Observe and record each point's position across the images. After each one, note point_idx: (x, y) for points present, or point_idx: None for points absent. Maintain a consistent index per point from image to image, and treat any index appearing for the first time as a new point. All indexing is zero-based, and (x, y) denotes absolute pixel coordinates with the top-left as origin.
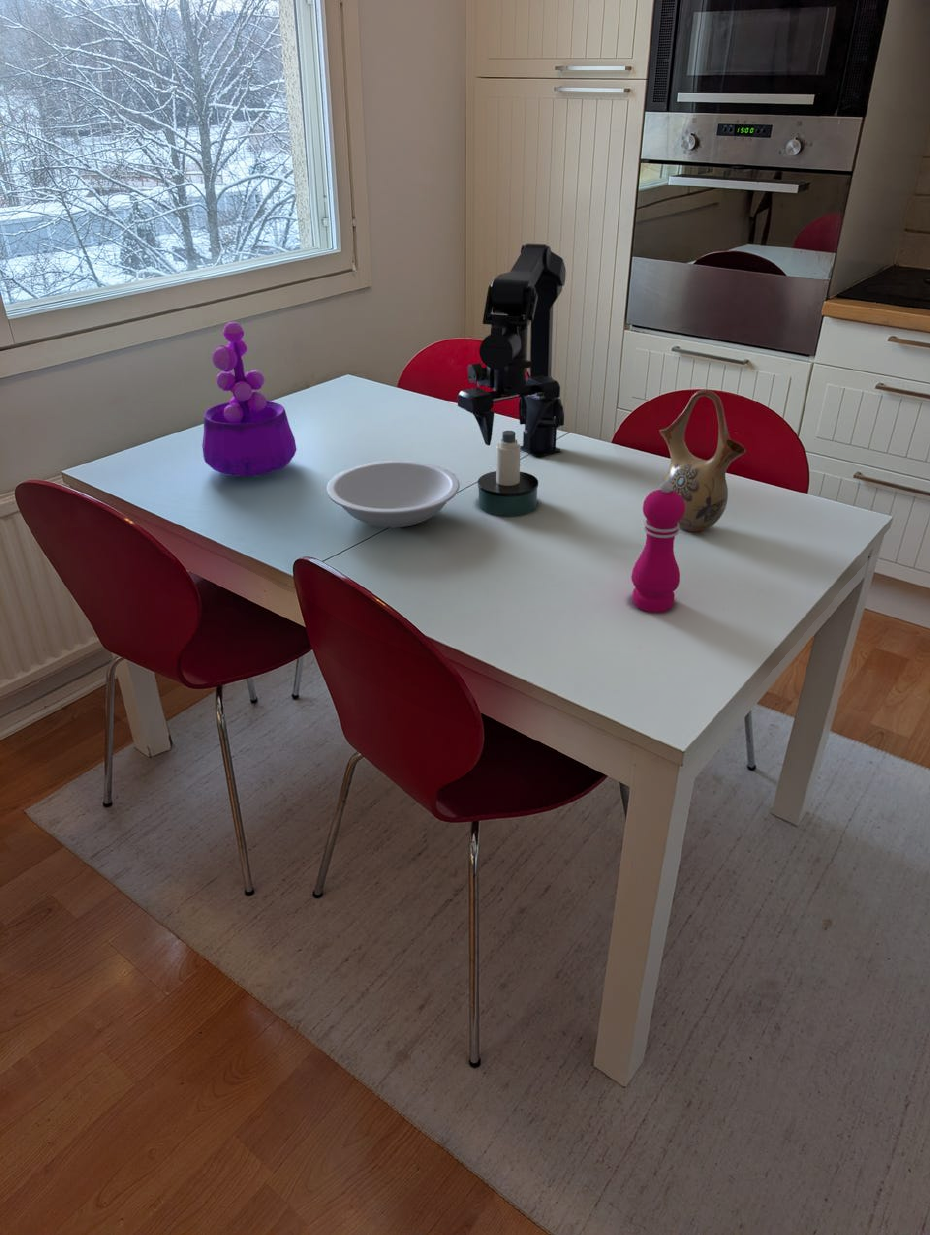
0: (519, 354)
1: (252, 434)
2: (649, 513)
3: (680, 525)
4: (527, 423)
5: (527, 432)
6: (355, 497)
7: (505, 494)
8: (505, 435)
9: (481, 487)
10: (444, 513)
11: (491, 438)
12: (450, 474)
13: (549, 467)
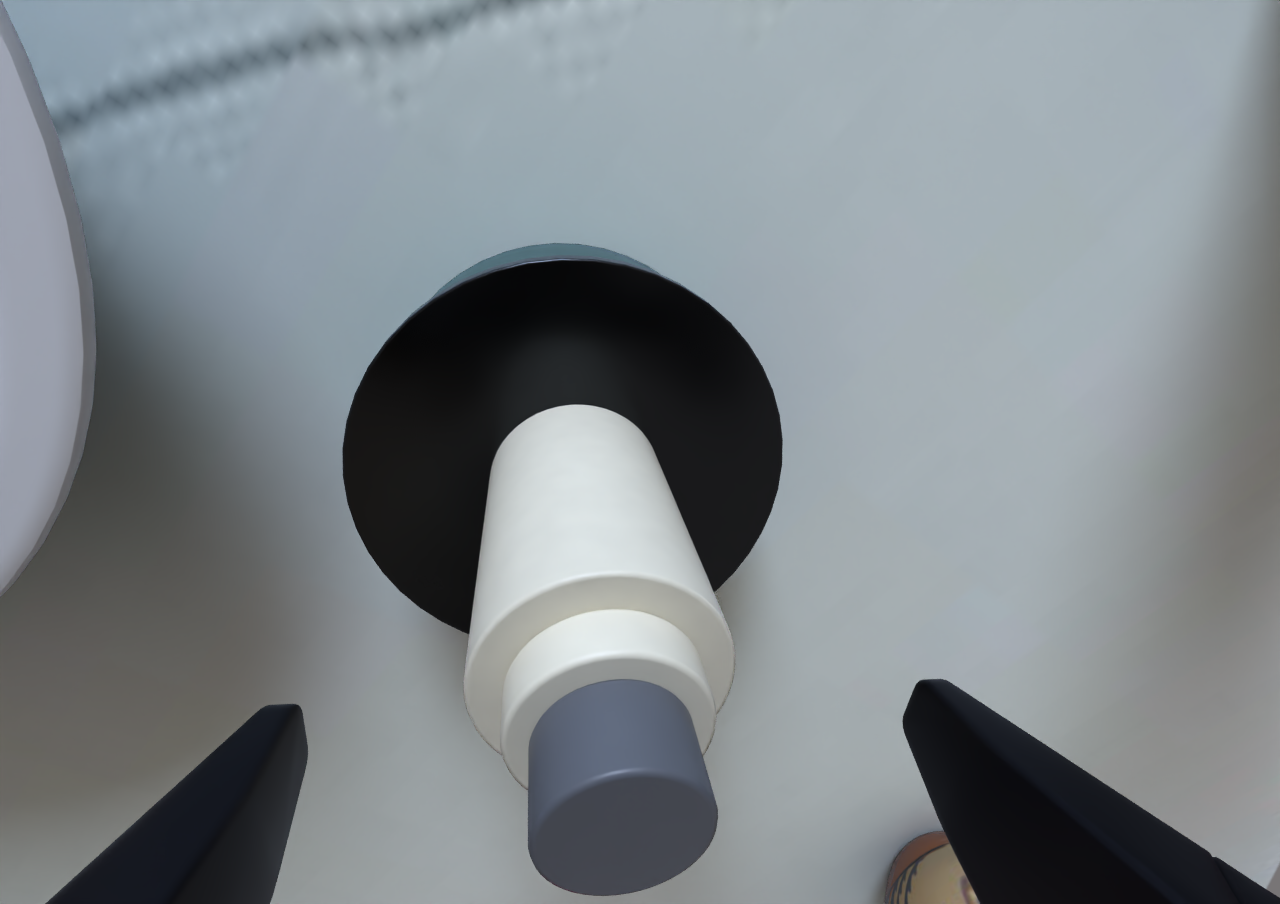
0: None
1: None
2: None
3: (886, 890)
4: (1021, 804)
5: (933, 708)
6: None
7: (439, 615)
8: (536, 860)
9: (343, 463)
10: (122, 299)
11: (266, 897)
12: (29, 292)
13: (1165, 117)
